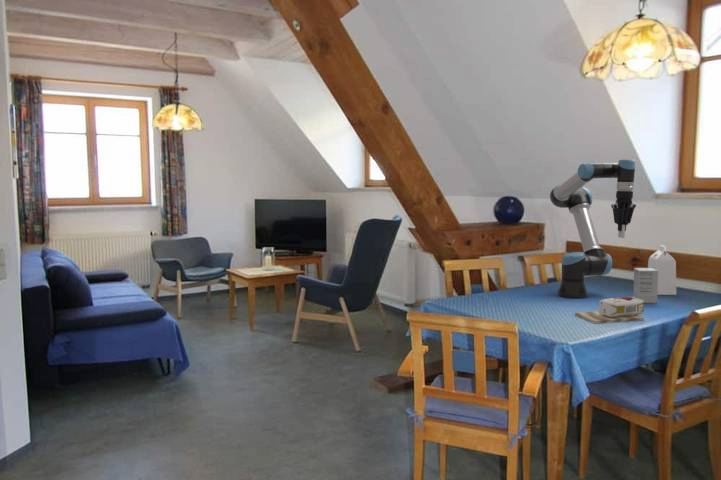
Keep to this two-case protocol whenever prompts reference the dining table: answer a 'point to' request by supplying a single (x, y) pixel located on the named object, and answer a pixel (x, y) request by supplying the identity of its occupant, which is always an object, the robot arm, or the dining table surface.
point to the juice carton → (621, 306)
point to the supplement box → (645, 284)
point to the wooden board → (606, 317)
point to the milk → (664, 271)
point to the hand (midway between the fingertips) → (621, 237)
